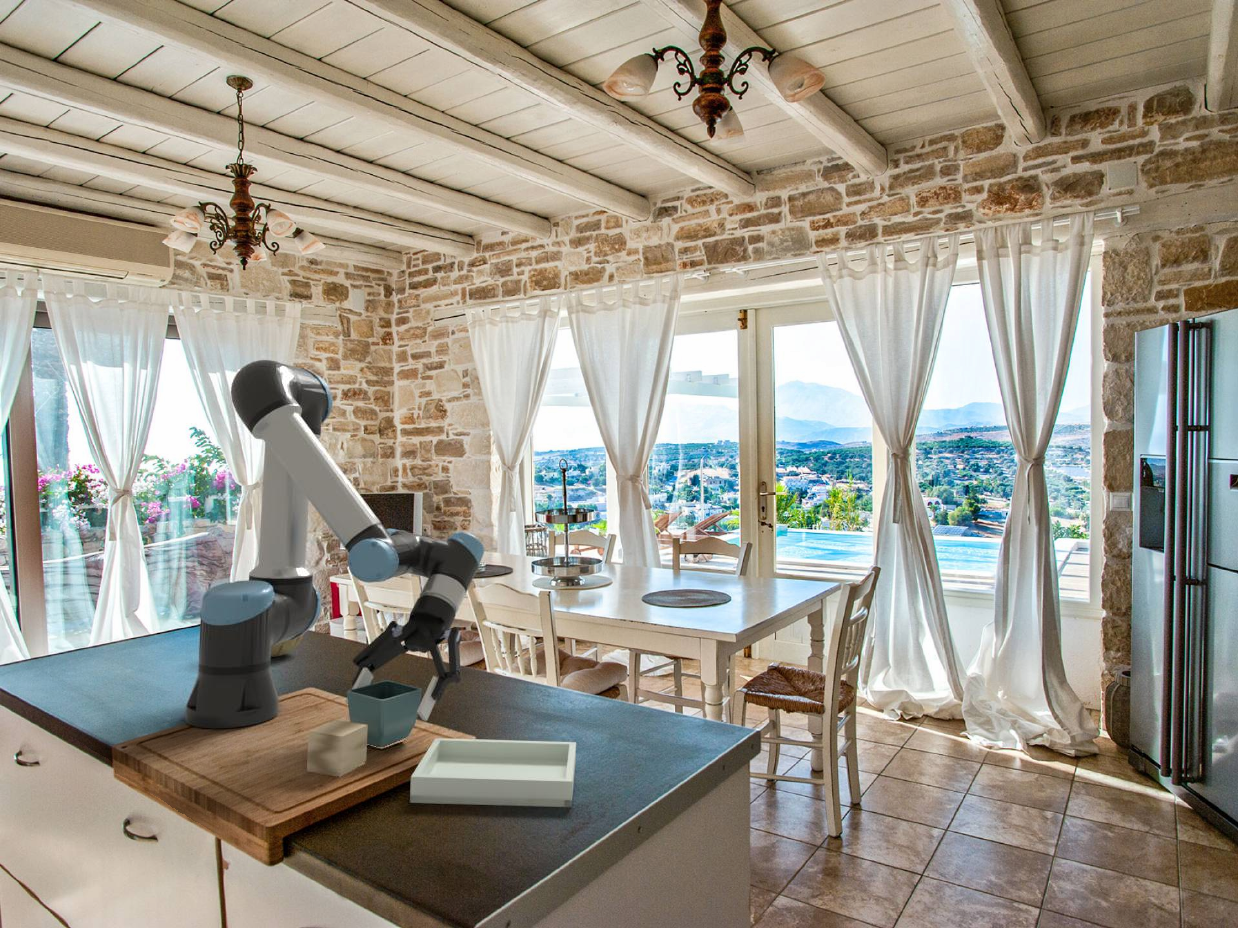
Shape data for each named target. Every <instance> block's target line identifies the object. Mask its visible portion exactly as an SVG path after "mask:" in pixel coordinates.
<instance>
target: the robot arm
mask: <svg viewBox="0 0 1238 928" xmlns="http://www.w3.org/2000/svg"><path fill="white" fill-rule="evenodd" d="M230 396H231V397H230V398H231V402H232V404H233V407H234V410H235V412H236V414H237V415H238V417H239V418H240V420H241V422H242V423H243V424H244V426H245V427H246V428H247V430H248V431H249V433H250V434H251V435H252V436H253V438H255V439H256V440H263V441H264V459H263V471H262V472H263V473H262V476H263V477H262V491H261V493H262V494H261V509H260V528H259V542H258V545H259V547H258V561H257V562H258V563H257V565H256V566H255V567H254V568H253V569H252V570H251V571H250V572H249V573H248V579H245V580H236V581H234V582H229V581H228V582H224V583H221V584H216V585H213V586H212V587H211V588H209V589H207V590H206V591H205V592H204V593H203V596H202V599H201V600H202V601H201V606H200V609H199V618H200V620H199V621H200V623H199V627H200V628H199V646H198V648H199V650H198V671H197V672H198V673H197V678H196V680H195V682H194V685H193V687H192V690H191V692H190V695H189V698H188V700H187V702H186V705H185V710H184V722H185V723H186V724H187V725H190V726H193V727H197V728H204V729H231V728H239V727H240V728H241V727H247V726H252V725H256V724H260V723H263V722H267V721H269V720H272V719H273V718H275V717H276V716H278V714H279V710H280V700H279V699H280V698H279V695H278V692H277V689H276V685H275V682H274V680H273V676H272V673H271V659H272V657H271V646H273V645H276V644H278V643H281V642H284V641H289V640H292V639H295V638H297V637H299V636H300V635H302V634H303V633H304V634H305V633H307V632H308V631H310V630H311V628H313V627H314V625H315V624H316V623H317V621H318V620H319V617H320V614H321V611H322V597H321V594H320V592H319V590H318V589H317V588H316V586H315V584H314V583H313V582H314V579H313V578H314V572H313V571H312V570H311V569H310V568H309V567H308V566H307V565H306V564H307V563H306V559H307V558H306V557H307V544H308V541H307V540H308V526H309V525H308V520H309V507H310V506H309V503H310V504H311V505H312V507H314V509H315V510H316V511H317V513H318V514H319V516H320V517H321V518H322V519H323V521H324V523H325V524H326V525H327V527H328V528H329V529H330V531H331V532H332V533H333V534H334V536H335V537H336V538H337V539H338V541H339V542H340V544H341V545H342V546H343V547H344V549H345V550H346V552H347V553H348V556H347V563H348V569H349V572H350V573H351V574H352V576H353V577H354V578H355V579H357V580H359V581H360V582H363V583H369V584H370V583H381V582H385V581H388V580H390V579H392V578H396V577H399V576H403V575H407V574H409V575H410V574H411V575H415V576H419V577H424V578H426V579H427V580H426V582H425V584H424V585H423V587H422V590H421V591H420V593H419V597H418V598H417V599H416V601H415V603H414V605H413V608H412V609H411V611H410V614H409V618H408V621H407V622H406V623H405V624H404V625H402V624H398V623H397V621H395V620H392V621H390V622H389V624H387V627H386V628H385V630H383V631H382V632H381V633H380V634H379V635H378V636H377V637H376V638H375V639H374V640H372V641H371V643H369V644H368V645H367V646H366V647H364V649H363V650H362V651H360V652H359V653H358V654H357V655H356V656H355V657H353V659H352V663H353V664H354V666H356V668H357V669H358V670H357V672H356V674H355V676H354V678H353V679H352V682H351V686H352V688H351V689H355V688H359V687H362V686H366V685H370V684H372V683H371V682H372V680H373V679H374V675H373V672H375V671H377V670H378V669H380V668H381V667H383V666H384V665H386V664H387V663H389V662H391V661H392V660H393V659H395V658H397V657H398V656H400V655H401V654H407V653H408V652H409V651H410V652H413V653H417V652H419V653H422V654H427V653H428V652H429V653H430V655H431V659H432V662H433V664H434V666H435V669H436V671H437V673H436V674H437V676H435V675H433V676H432V678H431V680H430V683H428V687H427V689H426V691H425V693H424V694H423V697H422V699H421V700H420V705H419V708H418V710H417V713H418V716H419V717H420V719H422V721H428V719H429V717H430V714H431V713H432V710H433V708H434V705H435V704H436V702H439V701H441V699H442V698H443V697H444V696H443V695H444V693H445V690H446V688H447V686H448V685H449V684H450V683H456V684H458V683H460V682H461V681H462V671H461V670H462V668H461V667H462V666H461V655H460V654H461V653H460V645H461V641H462V639H463V637H462V633H460V631H459V629H458V627H456V626H454V627H452V624H453V623H454V621H455V618H456V614H457V613H458V611H459V609H460V607H461V605H462V603H463V600H464V598H465V596H466V594H467V592H468V590H469V587H470V586H471V583H472V581H473V580H474V578H475V576H476V574H477V572H478V571H479V569H480V565H481V561H482V559H483V557H484V553H485V548H484V545H483V543H482V541H481V540H480V538H478V537H477V536H475V535H473V534H472V533H469V532H466V531H459V532H458V531H455V532H453V533H452V534H450V536H449V537H447V540H443V539H437V538H433V537H430V536H429V537H428V536H424V535H422V534H421V535H420V534H416V533H412V532H409V531H407V530H403V529H401V530H400V529H394V528H387V529H386V527H385V526H384V525H383V523H382V522H381V521H380V519H379V518H378V517H377V516H376V515H375V513H374V511H373V510H372V509H371V508H370V506H369V505H368V504H367V502H366V500H364V498H363V497H362V495H361V494H360V493H359V492H358V490H357V488H355V486H354V485H353V484H352V482H351V481H350V480H349V479H348V477H347V475H346V474H345V473H344V472H343V470H342V469H341V468H340V466H339V465H338V464H337V463H336V460H335V459H334V458H333V457H332V456H331V455H330V453H329V452H328V450H327V449H326V448H325V447H324V445H323V444H322V443H321V441H320V440H319V439H320V438H321V436H322V435H321V434H322V425H323V423H324V422H325V421H326V420H327V419H328V418H329V417H330V414H331V413H332V410H333V396H332V392H331V388H330V387H329V385H328V384H327V382H326V381H325V380H324V379H323V378H322V377H321V376H320V375H319V374H316V373H315V372H313V371H310V370H309V369H306V368H303V367H298V366H293V365H289V364H286V363H282V362H279V361H277V360H276V361H275V360H272V359H260V360H255V361H251V362H250V363H248V364H245V366H243V367H242V368H241V369H239V370H238V372H237V373H236V375H235V376H234V378H233V380H232V382H231V388H230ZM451 627H452V628H451ZM445 640H446V641H447V650H448V651H447V652H448V668H449V669H448V670H449V671H447V667H446V666H445V663H444V659H443V657H442V653H441V650H440V647H439V645H440V644H441V643H442V642H444V641H445ZM402 643H404V645H403V644H402ZM345 702H346V704H347V705H348V698H347V697H346V699H345Z"/></svg>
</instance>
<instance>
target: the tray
mask: <svg viewBox="0 0 1238 928" xmlns="http://www.w3.org/2000/svg"><path fill="white" fill-rule="evenodd" d="M576 753H577V742H575V741H544V740H543V741H542V740H541V741H540V740H512V739H511V740H509V739H482V738H481V739H479V738H477V739H475V738H442V737H436V738H434V740H433V741H432V743H431V745H430V746H429V748H428V750H426V752H425V754H424V756H423V757H422V759H421V761H420V762H419V764H418V765H417V766H416V767H415V770H414V772H413V773H412V774H411V776H410V791H409V792H410V794H409V803H412V804H442V805H443V804H444V805H446V804H447V805H449V804H450V805H475V806H476V805H478V806H479V805H482V806H485V805H487V806H513V807H514V806H517V807H545V808H546V807H547V808H548V807H550V808H551V807H552V808H553V807H554V808H557V807H558V808H572V805H573V794H574V785H575V784H574V783H575V773H576V772H575V771H576Z"/></svg>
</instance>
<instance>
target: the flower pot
mask: <svg viewBox="0 0 1238 928" xmlns="http://www.w3.org/2000/svg"><path fill="white" fill-rule="evenodd" d="M422 692H423V689H422V688H421V687H417V686H413V685H408V684H405V683H402V682H401V683H400V682H396V681H393V680H388V679H385V680H381V681H377V682H374V683H370V685H366V686H362V687H359V688H355V689H352V688H351V689H349V690H346V696H347V697H346V699H347V698H348V704H347V706H348V715H349V722H353V723H359V724H365V725H368V730H367V744H369V745H373V746H376V747H385V746H387V745H390V744H392V743H395V742H397V741H400V740H402V739H404V738H406V737H407V738H408V737H409V735H410V734H411V733H412V731H413V729H414V727H415V725H416V722H417V720H418V716H419V714H418V713H417V710H418V708H419V706H420V704H421V700H422V699H421V698H422ZM407 738H406V739H407Z"/></svg>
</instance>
